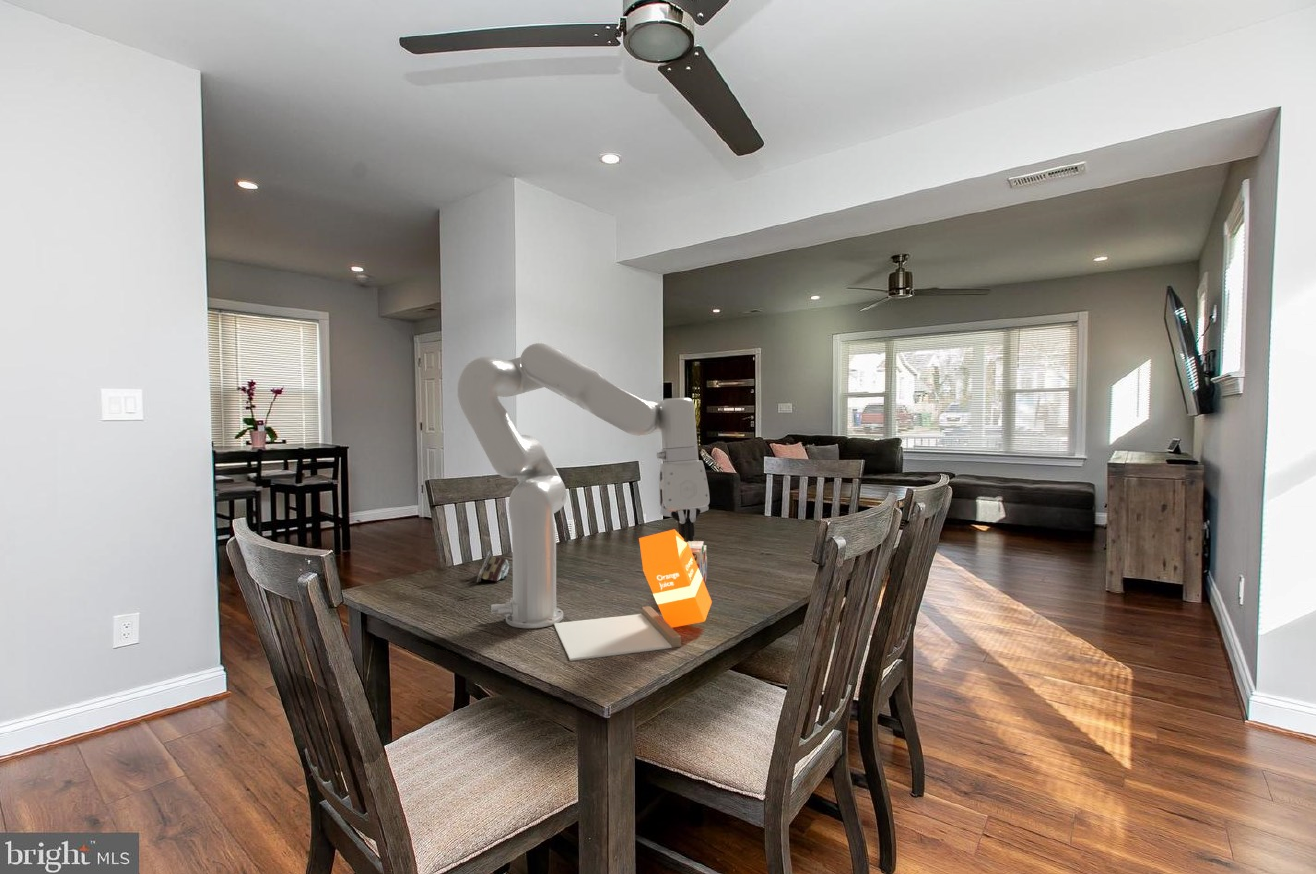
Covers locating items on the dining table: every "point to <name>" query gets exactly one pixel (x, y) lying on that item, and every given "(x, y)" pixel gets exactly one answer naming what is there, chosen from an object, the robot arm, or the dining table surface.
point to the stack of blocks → (700, 556)
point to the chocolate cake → (493, 568)
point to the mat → (617, 635)
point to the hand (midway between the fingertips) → (687, 540)
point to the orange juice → (674, 578)
